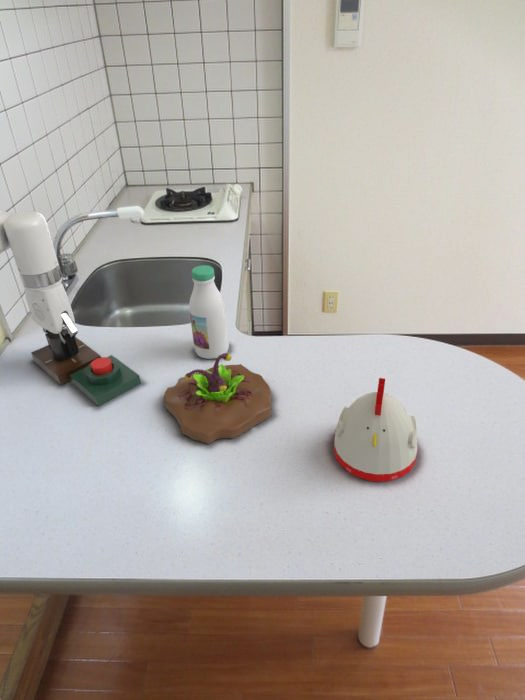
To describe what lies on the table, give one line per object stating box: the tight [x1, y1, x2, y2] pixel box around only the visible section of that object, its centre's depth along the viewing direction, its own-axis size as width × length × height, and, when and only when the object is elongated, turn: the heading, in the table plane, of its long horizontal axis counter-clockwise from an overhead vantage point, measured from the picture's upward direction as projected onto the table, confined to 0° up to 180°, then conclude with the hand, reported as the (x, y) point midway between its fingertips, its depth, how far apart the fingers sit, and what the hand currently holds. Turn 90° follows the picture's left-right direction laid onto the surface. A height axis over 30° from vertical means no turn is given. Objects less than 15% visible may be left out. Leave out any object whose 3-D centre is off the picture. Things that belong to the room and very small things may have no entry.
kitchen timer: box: [333, 377, 419, 483], centre depth 86 cm, size 14×14×15 cm
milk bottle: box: [188, 264, 230, 360], centre depth 113 cm, size 8×8×20 cm
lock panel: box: [30, 337, 102, 386], centre depth 116 cm, size 13×10×3 cm
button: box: [91, 356, 113, 375], centre depth 107 cm, size 4×4×2 cm
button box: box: [70, 354, 142, 407], centre depth 109 cm, size 11×10×4 cm
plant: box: [163, 352, 272, 445], centre depth 99 cm, size 20×20×11 cm
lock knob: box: [46, 330, 76, 360], centre depth 114 cm, size 5×5×6 cm
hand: (64, 350), depth 115 cm, fingers closed on lock knob, 5 cm apart
